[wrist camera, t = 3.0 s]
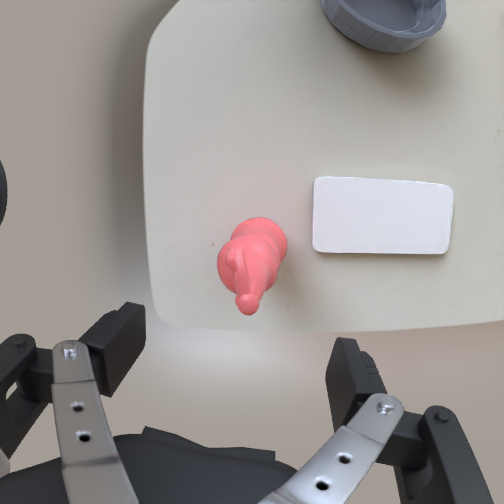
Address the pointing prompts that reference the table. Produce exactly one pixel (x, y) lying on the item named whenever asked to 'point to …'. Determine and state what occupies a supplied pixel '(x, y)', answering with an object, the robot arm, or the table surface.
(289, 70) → the table surface
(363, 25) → the bowl
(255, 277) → the figurine
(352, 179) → the smartphone
